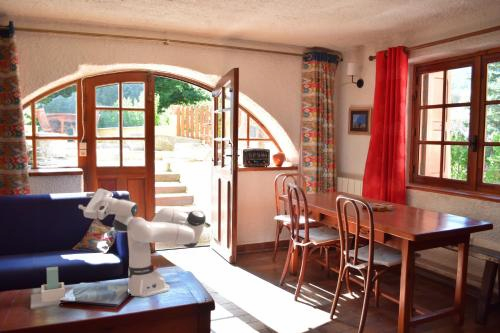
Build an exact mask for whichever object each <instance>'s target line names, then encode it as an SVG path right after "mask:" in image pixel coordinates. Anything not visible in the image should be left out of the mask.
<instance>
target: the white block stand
mask: <svg viewBox="0 0 500 333" xmlns="http://www.w3.org/2000/svg"><path fill="white" fill-rule="evenodd" d="M40 286H41V293H35V294H31V295H30V310H34V309H40V308H47V307H53V306H59V304H60V303H61V302H60V299H61V298H63V297H65V294H66V293H67V292H69V291H70V290H71V289H72V288H70V289H65V282H63V281H62V282H58V289H51V290H47V283H46V284H42V285H40Z"/></svg>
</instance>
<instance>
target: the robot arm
mask: <svg viewBox="0 0 500 333" xmlns="http://www.w3.org/2000/svg"><path fill="white" fill-rule="evenodd" d="M85 197H86V198H90V197H91V199H90V201H89V202H88V204H87V205H86V206H84V205H83V204H78V206H77V207H78V209H79V210H82V211H83V217H85V218H88V219H91V220H92V219H94V220H96V219H98V220H102V221H103V220H104V219H105V218H106V217H108V216H109V215H115V217H114V219H113V221H112V227H113V229H114V230H115V231H117V232H118V233H127V245H128V257H129V258H128V264H129V265H128V268H127V269H128V271H127V273H128V282H127V283H128V285H127V289H129V290H130V293H131V295H130V296H135V297H141V298H145V297H146V298H147V297H149V296H154V295H159V294H161V293H167V292H170V290H171V288H170V285H169V284H168V283H166V280H165V277H164V276H163V275H162V274H161V273H160V272H157V271H156V270H157V269H158V268H157V266H156V265H154V264H153V263H152V262H151V261H152V259H151V258H152V257H151V256H152V255H151V254H152V253H151V247H150V246H151V245H150V243H154V244H155V243H160V244H170V245H182V246H183V247H185V248H187V249H189V248H191V249H192V248H195V247H196V246H197V245H198V243H199V240H200V238H201V235H202V233H203V230H204V227H205V223H206V215H205V213H203V212H201V211H199V210H193V211H190V212H189V213H187V212H184V211H181V210H179V209H174V208H170V207H167V208H166V207H164V208H161V209H160V210H159V211H157V213H156V214H155V215H154V216H153V218H152V220H151V221H147V220H146V219H145V218H143V217H140V216H136V215H137V214H138V212H139V206H138V203H136V202H135V201H134V200H133V199H130V198H129V199H128V198H125V197H124V198H121V199H118V198H115V197H114V192H112V191H109V190H106V189H104V188H97V190H96V191H95V192H87V193H86V194H85Z"/></svg>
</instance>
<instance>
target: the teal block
mask: <svg viewBox="0 0 500 333" xmlns="http://www.w3.org/2000/svg"><path fill="white" fill-rule="evenodd" d="M58 283H59V267H58V265H57V266H50V267H48V266H47V267H46V284H47V290H51V289H58Z"/></svg>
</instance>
